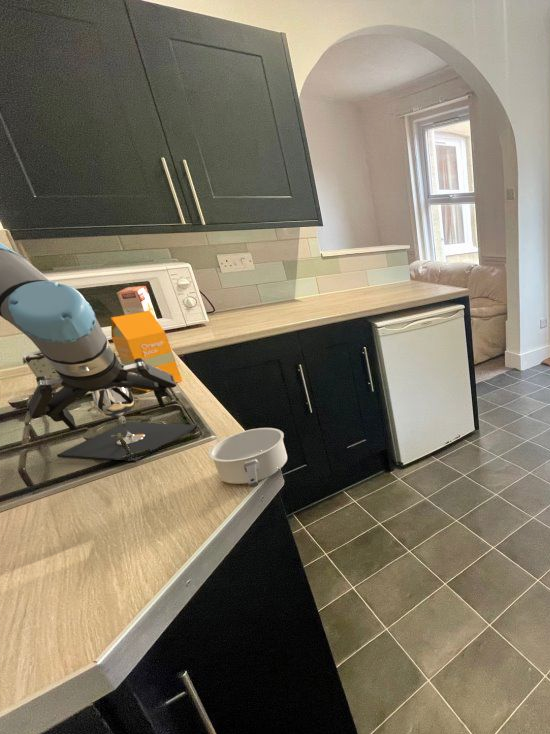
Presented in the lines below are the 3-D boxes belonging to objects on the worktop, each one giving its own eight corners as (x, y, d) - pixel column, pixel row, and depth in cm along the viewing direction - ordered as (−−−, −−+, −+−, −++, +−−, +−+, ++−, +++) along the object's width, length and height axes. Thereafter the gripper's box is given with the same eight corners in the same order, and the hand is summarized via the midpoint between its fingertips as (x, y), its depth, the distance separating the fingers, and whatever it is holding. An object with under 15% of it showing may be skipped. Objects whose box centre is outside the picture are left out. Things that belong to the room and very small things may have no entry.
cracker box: (159, 349, 148) (138, 290, 140) (138, 352, 146) (114, 292, 138) (166, 340, 160) (146, 285, 152) (146, 343, 157) (125, 286, 149)
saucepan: (218, 527, 62) (206, 496, 60) (218, 465, 77) (209, 439, 75) (302, 499, 68) (294, 470, 65) (286, 446, 83) (280, 422, 81)
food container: (99, 374, 126) (85, 342, 122) (97, 379, 122) (83, 346, 118) (40, 385, 119) (24, 351, 115) (37, 391, 115) (19, 356, 111)
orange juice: (182, 380, 119) (158, 311, 112) (147, 392, 112) (118, 318, 104) (166, 376, 122) (141, 309, 115) (131, 387, 115) (102, 316, 107)
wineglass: (104, 447, 84) (79, 392, 79) (126, 433, 89) (104, 381, 85) (135, 445, 84) (111, 390, 80) (155, 431, 90) (134, 379, 85)
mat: (57, 456, 82) (56, 454, 82) (128, 423, 95) (127, 421, 95) (136, 462, 79) (135, 460, 79) (197, 427, 92) (196, 425, 92)
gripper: (-29, 400, 60) (34, 451, 76) (184, 359, 75) (199, 408, 91) (-39, 357, 61) (24, 415, 78) (171, 325, 76) (188, 379, 93)
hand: (119, 412), depth 84 cm, fingers open, 13 cm apart
